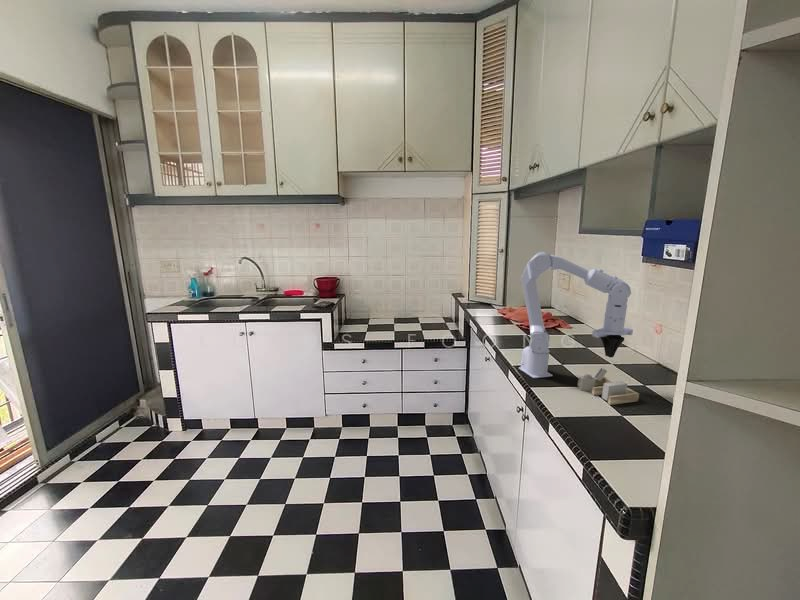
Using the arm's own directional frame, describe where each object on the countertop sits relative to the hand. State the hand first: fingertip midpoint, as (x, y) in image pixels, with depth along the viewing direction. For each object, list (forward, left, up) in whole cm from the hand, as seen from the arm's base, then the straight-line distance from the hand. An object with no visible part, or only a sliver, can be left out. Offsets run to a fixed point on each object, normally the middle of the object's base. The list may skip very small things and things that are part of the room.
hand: (609, 356), depth 116 cm
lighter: (+2, -8, -11) cm, 13 cm away
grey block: (+8, -5, -10) cm, 14 cm away
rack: (+5, -5, -10) cm, 13 cm away
